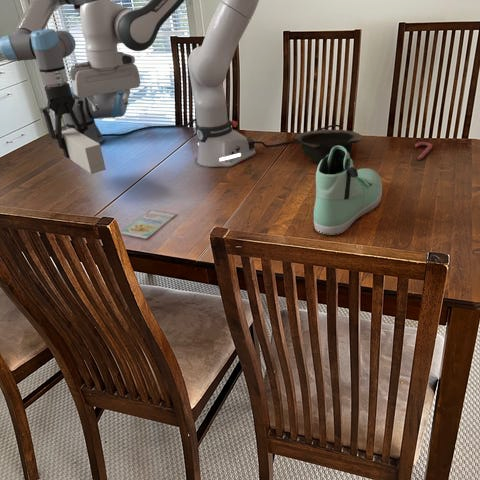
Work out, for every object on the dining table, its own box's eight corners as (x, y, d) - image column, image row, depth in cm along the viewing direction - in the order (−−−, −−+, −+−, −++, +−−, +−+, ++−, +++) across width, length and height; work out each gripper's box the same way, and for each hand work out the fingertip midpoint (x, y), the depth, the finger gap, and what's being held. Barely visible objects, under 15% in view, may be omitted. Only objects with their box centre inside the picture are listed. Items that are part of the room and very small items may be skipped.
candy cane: (403, 158, 167) (404, 154, 167) (417, 144, 177) (418, 140, 177) (421, 161, 164) (421, 157, 163) (434, 146, 174) (435, 142, 173)
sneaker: (389, 187, 148) (396, 123, 138) (356, 242, 123) (361, 168, 112) (346, 181, 154) (350, 119, 144) (306, 232, 129) (307, 161, 118)
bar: (65, 155, 162) (58, 131, 158) (78, 151, 165) (72, 128, 160) (91, 174, 147) (84, 148, 142) (105, 169, 149) (100, 144, 145)
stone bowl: (320, 174, 160) (319, 147, 155) (281, 157, 180) (279, 132, 176) (378, 156, 168) (378, 130, 164) (334, 141, 189) (333, 118, 184)
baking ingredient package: (120, 232, 135) (151, 209, 146) (120, 233, 135) (151, 210, 146) (145, 237, 131) (175, 214, 143) (146, 239, 131) (175, 215, 143)
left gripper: (31, 92, 142) (52, 165, 154) (88, 79, 151) (104, 150, 163) (23, 88, 147) (45, 159, 159) (79, 76, 156) (95, 144, 168)
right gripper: (72, 66, 131) (82, 116, 138) (139, 56, 142) (145, 103, 149) (64, 63, 135) (74, 111, 142) (129, 53, 146) (135, 99, 153)
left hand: (75, 154), depth 161 cm, fingers closed on bar, 5 cm apart
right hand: (110, 107), depth 146 cm, fingers open, 8 cm apart
